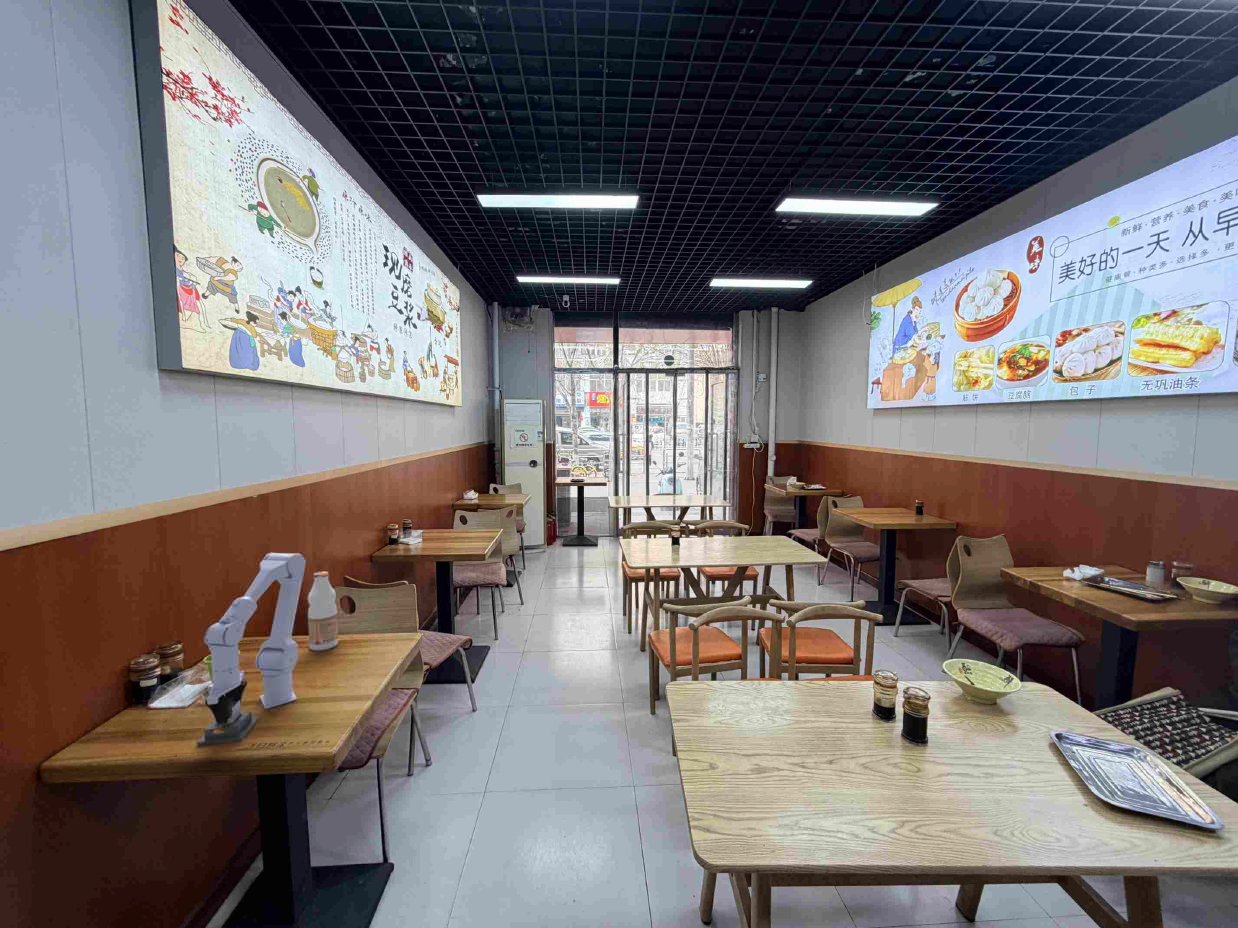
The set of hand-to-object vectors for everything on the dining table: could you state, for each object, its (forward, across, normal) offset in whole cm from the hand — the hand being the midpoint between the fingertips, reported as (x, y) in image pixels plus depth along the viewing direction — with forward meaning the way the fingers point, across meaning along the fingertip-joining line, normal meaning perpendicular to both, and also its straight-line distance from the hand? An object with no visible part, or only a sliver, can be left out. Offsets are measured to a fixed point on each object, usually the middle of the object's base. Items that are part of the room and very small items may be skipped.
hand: (228, 716), depth 138 cm
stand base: (+4, 0, 0) cm, 4 cm away
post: (+3, 0, 0) cm, 3 cm away
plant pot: (+5, -33, -17) cm, 37 cm away
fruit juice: (+5, -56, +6) cm, 57 cm away
